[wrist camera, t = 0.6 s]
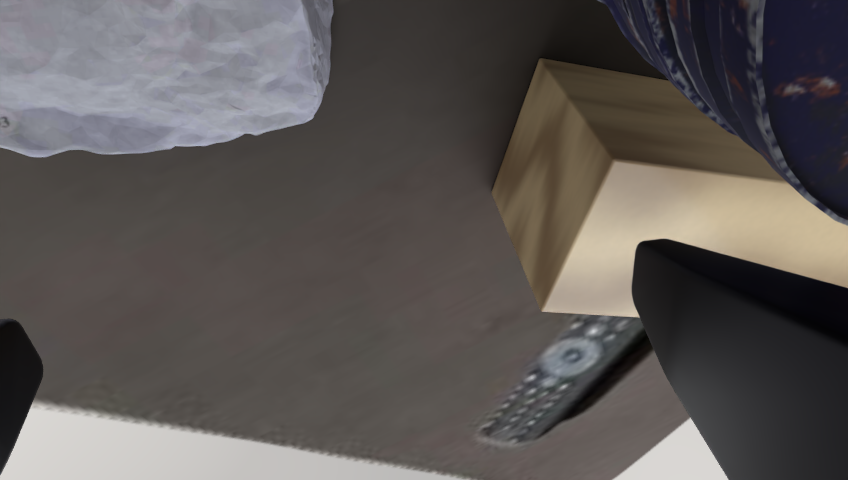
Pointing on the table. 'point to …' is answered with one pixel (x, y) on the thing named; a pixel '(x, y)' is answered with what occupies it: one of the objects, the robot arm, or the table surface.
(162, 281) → the table surface
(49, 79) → the stone block
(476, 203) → the table surface
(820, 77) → the blue barrel
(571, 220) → the birch block
